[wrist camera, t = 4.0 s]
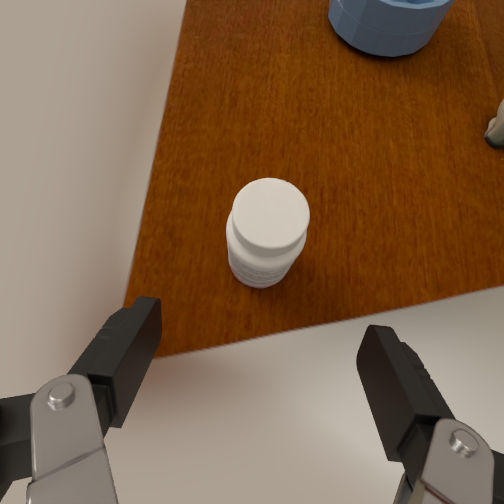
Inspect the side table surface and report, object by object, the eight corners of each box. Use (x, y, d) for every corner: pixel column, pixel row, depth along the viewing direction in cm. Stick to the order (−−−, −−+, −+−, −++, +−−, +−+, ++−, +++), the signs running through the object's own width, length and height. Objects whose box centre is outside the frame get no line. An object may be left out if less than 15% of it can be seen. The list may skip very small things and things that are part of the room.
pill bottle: (295, 283, 22) (328, 248, 14) (234, 294, 22) (231, 264, 14) (282, 226, 24) (305, 165, 16) (224, 235, 23) (217, 177, 15)
